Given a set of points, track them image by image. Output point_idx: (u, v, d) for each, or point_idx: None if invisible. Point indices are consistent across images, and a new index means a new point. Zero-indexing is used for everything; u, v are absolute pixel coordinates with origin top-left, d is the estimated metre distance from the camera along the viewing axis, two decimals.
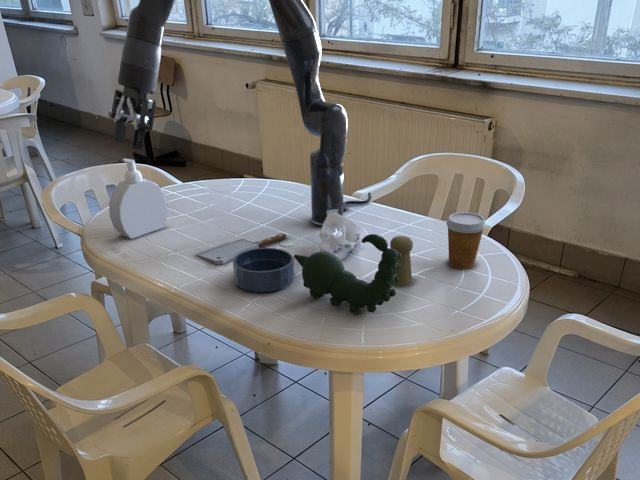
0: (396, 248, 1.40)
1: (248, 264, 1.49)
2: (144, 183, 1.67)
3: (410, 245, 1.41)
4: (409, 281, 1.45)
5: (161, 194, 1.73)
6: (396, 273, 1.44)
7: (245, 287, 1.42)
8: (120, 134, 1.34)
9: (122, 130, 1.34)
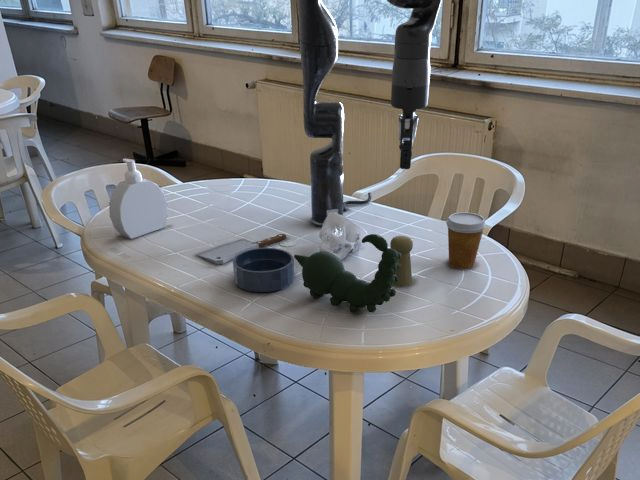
0: (396, 248, 1.40)
1: (248, 264, 1.49)
2: (144, 183, 1.67)
3: (410, 245, 1.41)
4: (409, 281, 1.45)
5: (161, 194, 1.73)
6: (396, 273, 1.44)
7: (245, 287, 1.42)
8: None
9: None
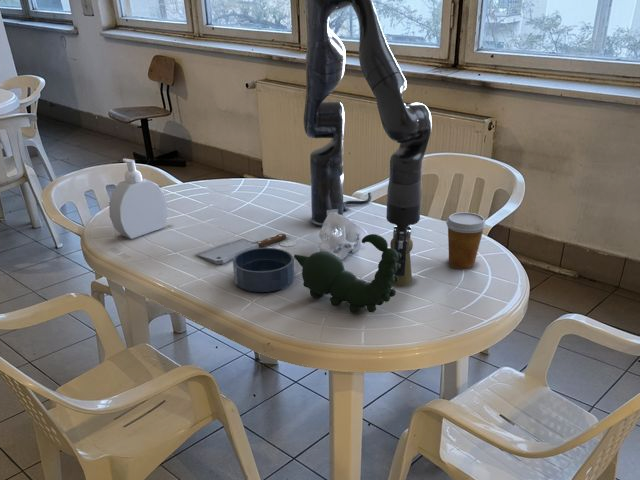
0: None
1: (248, 264, 1.49)
2: (144, 183, 1.67)
3: (410, 245, 1.41)
4: (409, 281, 1.45)
5: (161, 194, 1.73)
6: None
7: (245, 287, 1.42)
8: None
9: None
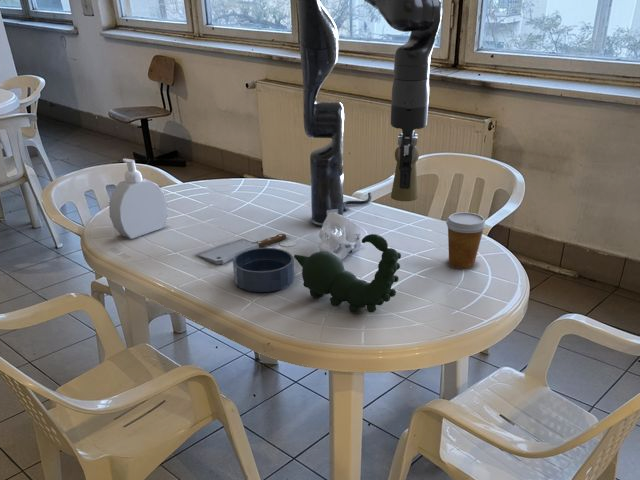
0: None
1: (248, 264, 1.49)
2: (144, 183, 1.67)
3: (416, 154, 1.30)
4: (415, 196, 1.34)
5: (161, 194, 1.73)
6: None
7: (245, 287, 1.42)
8: None
9: None
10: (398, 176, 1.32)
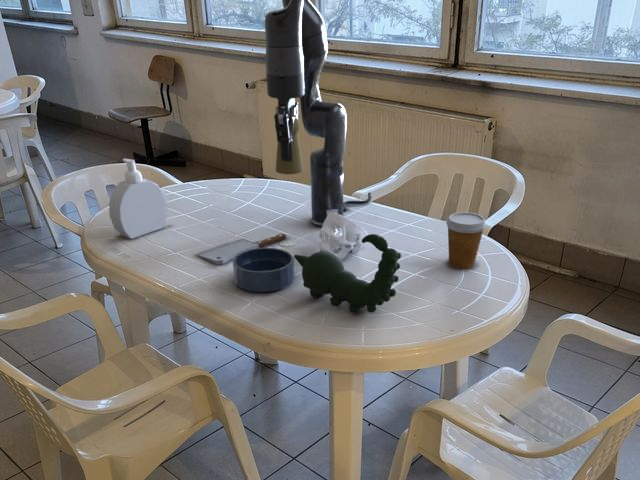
0: None
1: (248, 264, 1.49)
2: (144, 183, 1.67)
3: (296, 125, 1.27)
4: (299, 169, 1.31)
5: (161, 194, 1.73)
6: None
7: (245, 287, 1.42)
8: None
9: None
10: (280, 148, 1.29)
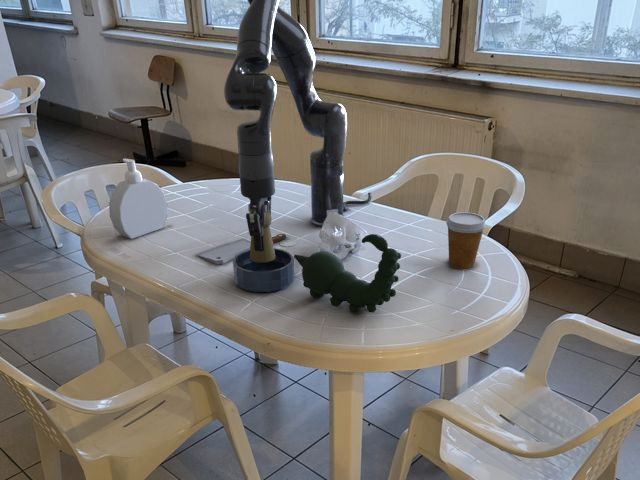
0: None
1: (248, 264, 1.49)
2: (144, 183, 1.67)
3: (267, 219, 1.38)
4: (270, 257, 1.42)
5: (161, 194, 1.73)
6: None
7: (245, 287, 1.42)
8: None
9: None
10: (253, 239, 1.40)
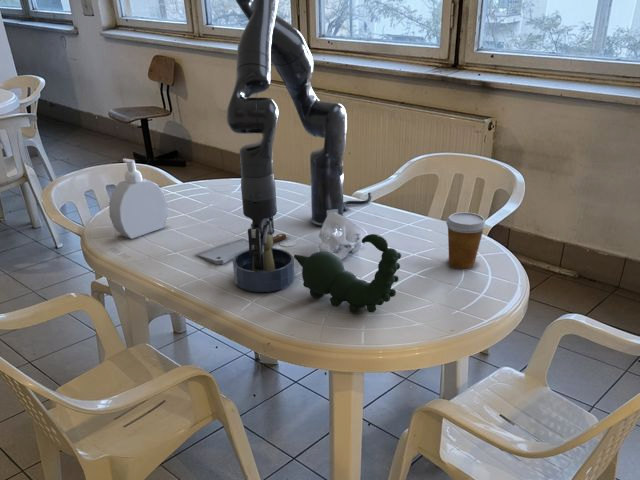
0: None
1: (248, 264, 1.49)
2: (144, 183, 1.67)
3: (269, 242, 1.41)
4: None
5: (161, 194, 1.73)
6: (257, 270, 1.44)
7: (245, 287, 1.42)
8: None
9: None
10: None
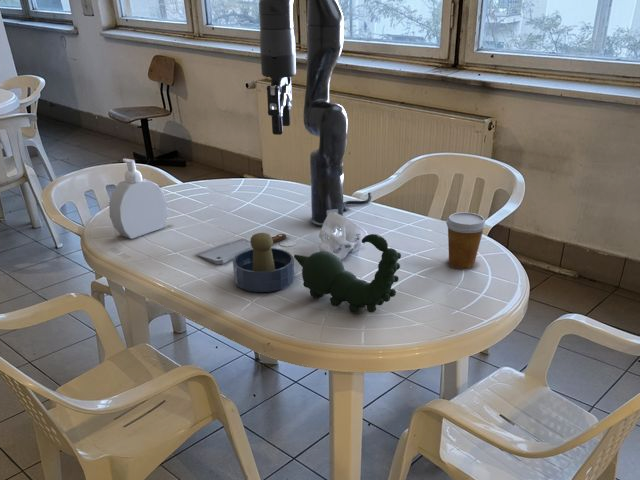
0: (254, 245, 1.41)
1: (248, 264, 1.49)
2: (144, 183, 1.67)
3: (269, 242, 1.41)
4: None
5: (161, 194, 1.73)
6: (257, 270, 1.44)
7: (245, 287, 1.42)
8: None
9: None
10: (254, 261, 1.43)
